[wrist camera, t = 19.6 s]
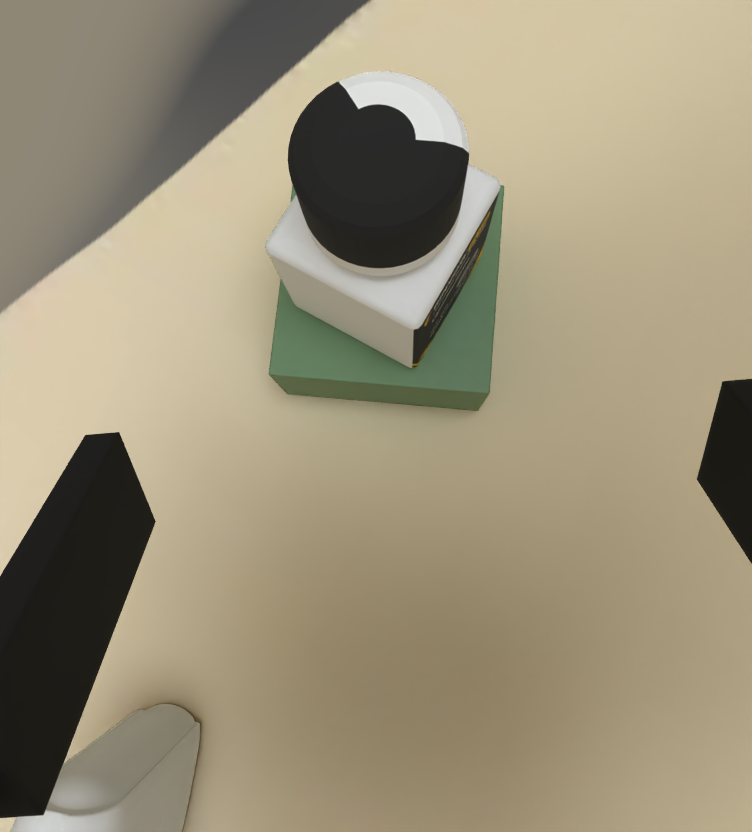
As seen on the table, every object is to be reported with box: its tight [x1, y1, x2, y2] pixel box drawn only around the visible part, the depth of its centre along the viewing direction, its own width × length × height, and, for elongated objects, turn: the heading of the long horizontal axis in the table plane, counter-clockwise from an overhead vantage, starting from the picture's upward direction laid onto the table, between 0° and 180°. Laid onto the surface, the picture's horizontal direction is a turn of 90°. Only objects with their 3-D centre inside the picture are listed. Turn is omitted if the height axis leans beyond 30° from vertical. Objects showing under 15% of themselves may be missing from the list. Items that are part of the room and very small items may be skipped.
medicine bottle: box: [266, 71, 501, 368], centre depth 26 cm, size 7×7×12 cm
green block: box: [269, 185, 504, 411], centre depth 35 cm, size 11×11×5 cm
